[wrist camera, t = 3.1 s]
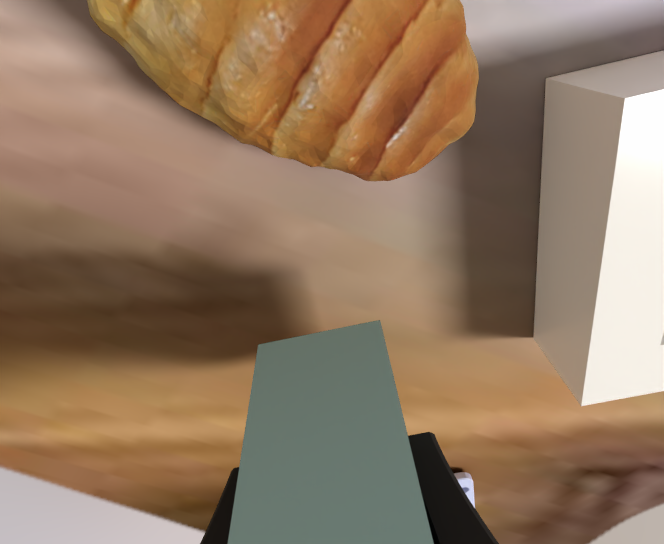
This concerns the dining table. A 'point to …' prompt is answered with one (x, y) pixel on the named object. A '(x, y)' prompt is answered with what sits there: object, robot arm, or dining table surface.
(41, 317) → the dining table surface
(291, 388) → the post
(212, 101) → the pastry
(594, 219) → the well
